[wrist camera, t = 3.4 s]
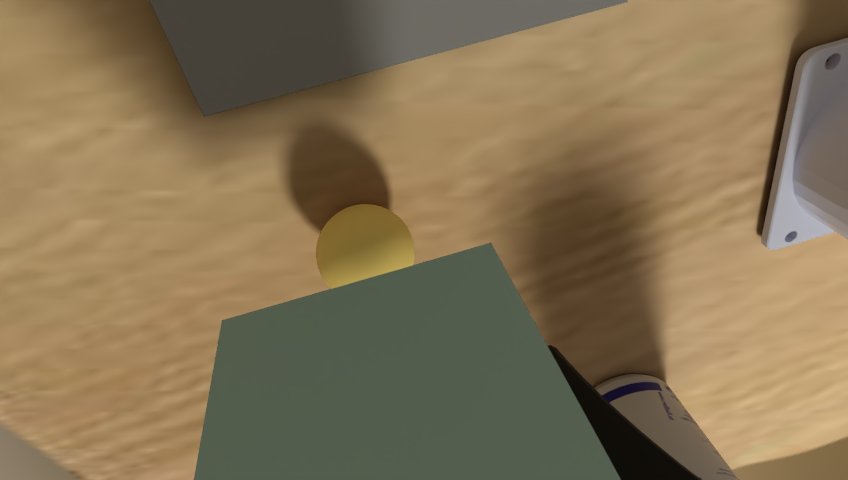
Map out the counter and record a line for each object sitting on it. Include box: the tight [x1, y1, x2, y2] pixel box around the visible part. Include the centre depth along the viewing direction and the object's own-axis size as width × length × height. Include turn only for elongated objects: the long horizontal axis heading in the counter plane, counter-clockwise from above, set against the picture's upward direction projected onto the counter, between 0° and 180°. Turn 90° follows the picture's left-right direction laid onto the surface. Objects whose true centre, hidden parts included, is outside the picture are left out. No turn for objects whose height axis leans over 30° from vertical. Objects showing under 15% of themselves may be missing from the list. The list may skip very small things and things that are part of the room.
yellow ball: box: [316, 204, 414, 289], centre depth 16 cm, size 3×3×3 cm
